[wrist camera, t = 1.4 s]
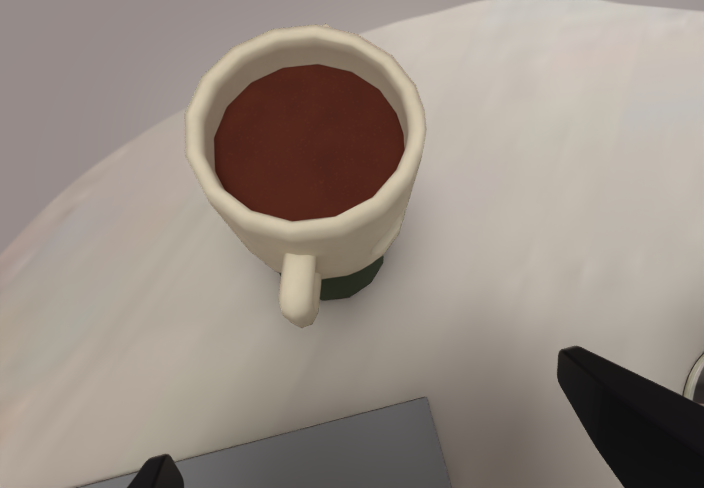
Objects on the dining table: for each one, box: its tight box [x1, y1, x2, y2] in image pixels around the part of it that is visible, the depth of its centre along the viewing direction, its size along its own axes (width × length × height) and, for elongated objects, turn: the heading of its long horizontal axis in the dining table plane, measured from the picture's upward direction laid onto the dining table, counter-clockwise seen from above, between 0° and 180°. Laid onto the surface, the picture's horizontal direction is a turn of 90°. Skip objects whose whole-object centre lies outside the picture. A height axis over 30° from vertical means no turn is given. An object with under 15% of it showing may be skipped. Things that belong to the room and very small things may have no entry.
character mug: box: [185, 24, 426, 328], centre depth 19 cm, size 11×7×13 cm, turn 176°
